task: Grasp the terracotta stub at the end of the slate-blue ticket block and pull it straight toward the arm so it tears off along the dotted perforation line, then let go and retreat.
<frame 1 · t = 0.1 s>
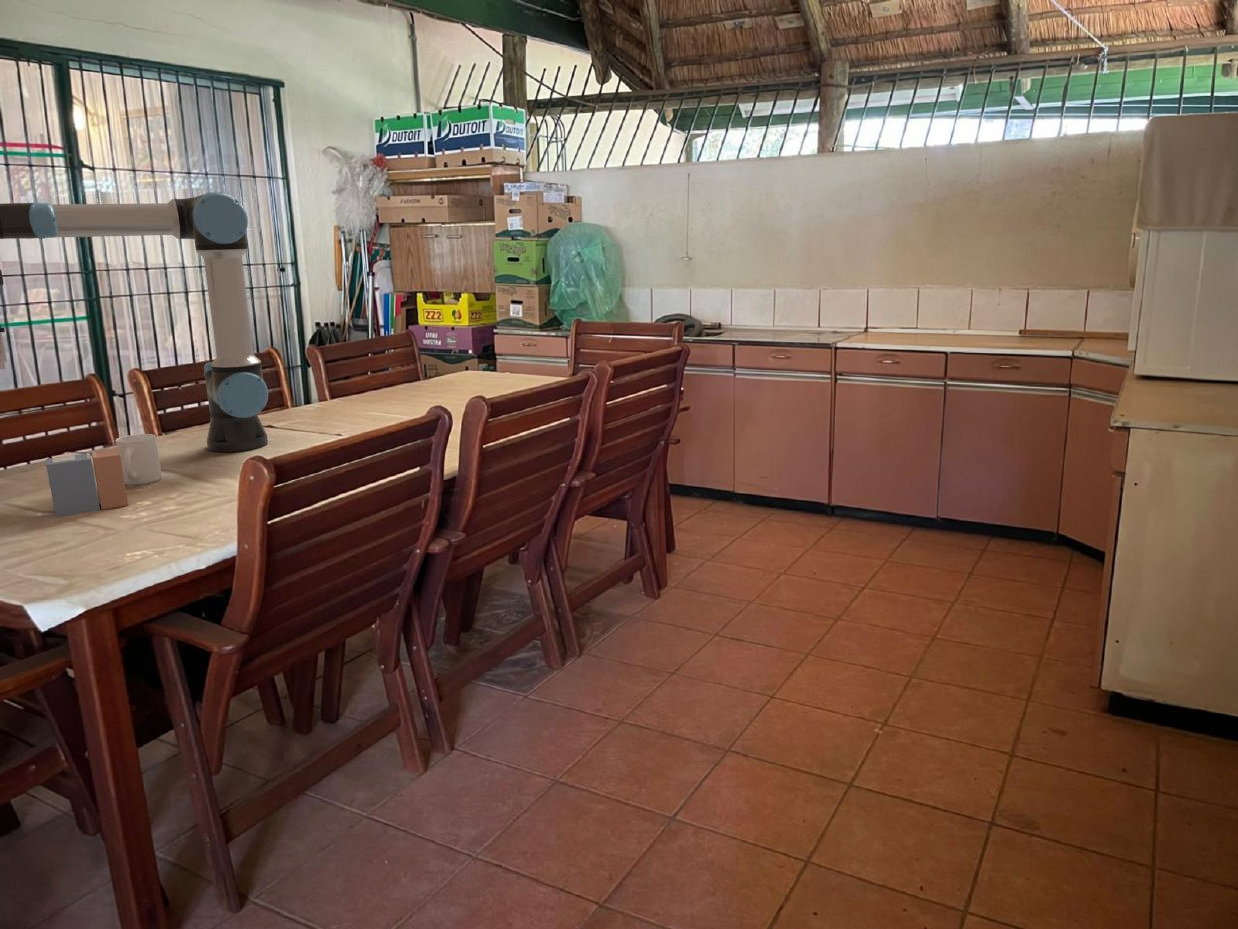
mug: (139, 483, 213), on the table
ticket block: (77, 509, 193), on the table
stub: (109, 478, 195), point 6 cm above the table, slide at 0.0 cm
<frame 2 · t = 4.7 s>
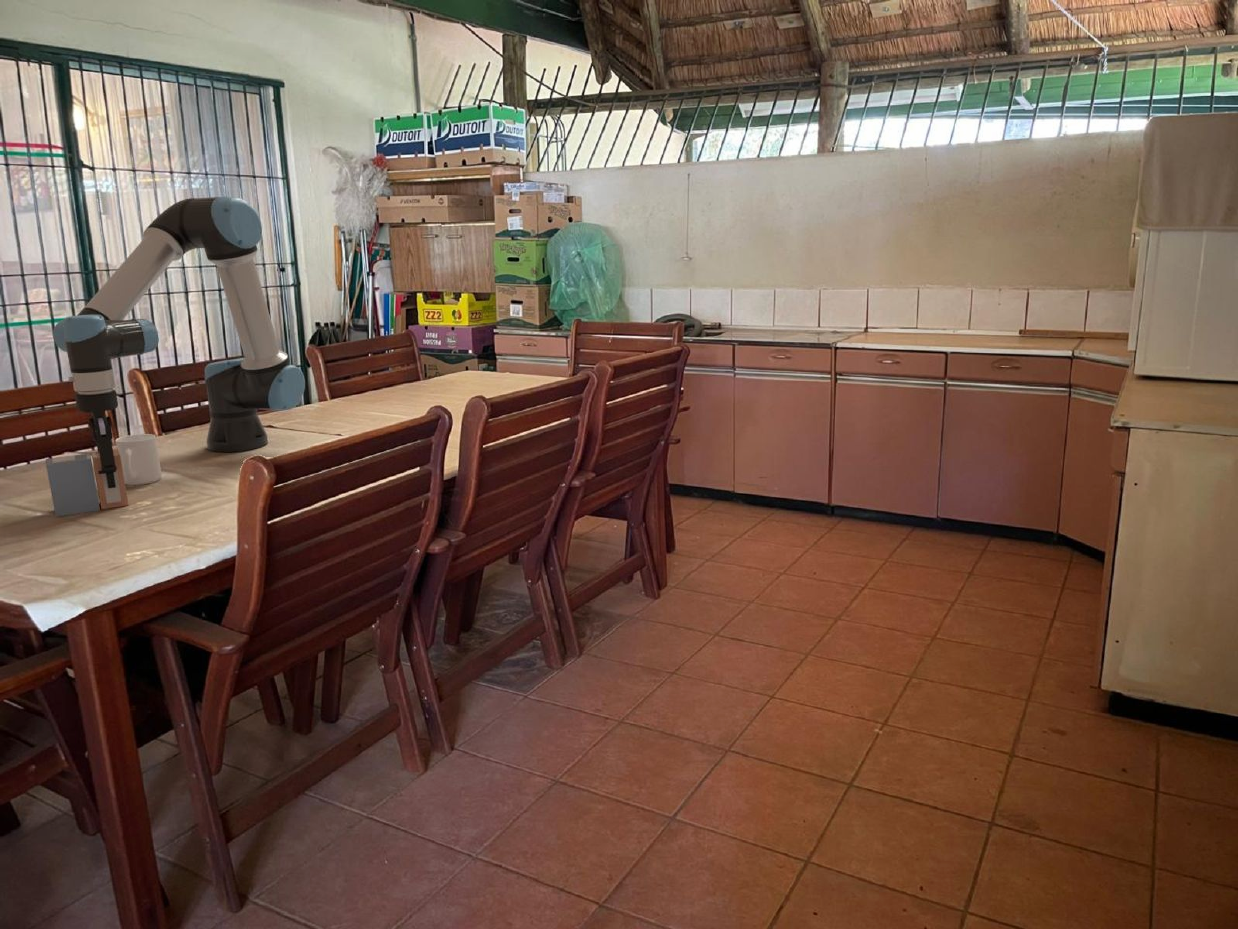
hand: (113, 498, 196), 1 cm above the table, fingers closed on stub, 6 cm apart
stub: (109, 478, 195), point 6 cm above the table, slide at 0.0 cm, touching gripper
everything else where it was.
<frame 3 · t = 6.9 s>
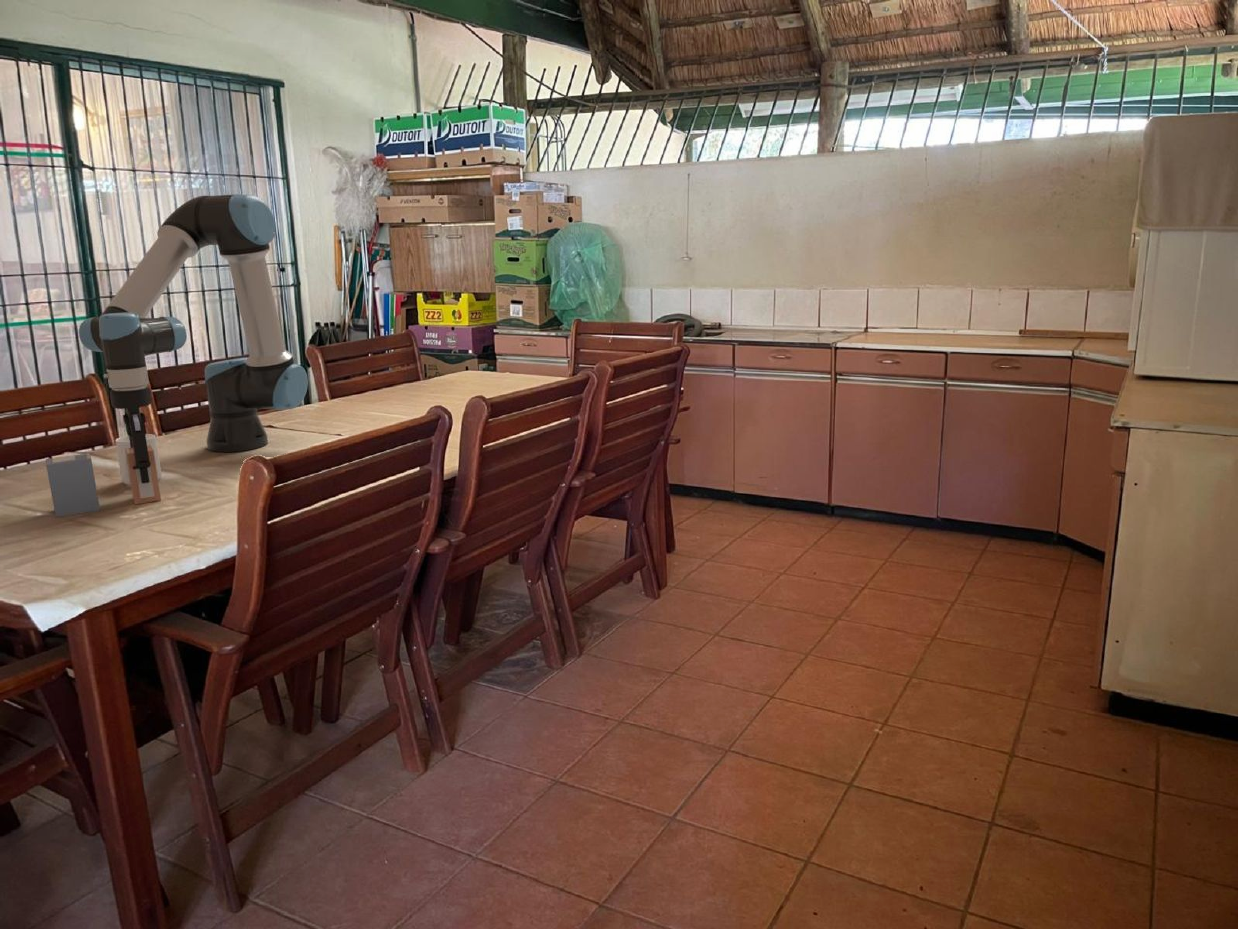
hand: (145, 493, 200), 1 cm above the table, fingers closed on stub, 6 cm apart
stub: (142, 473, 198), point 6 cm above the table, slide at 6.3 cm, touching gripper
everything else where it was.
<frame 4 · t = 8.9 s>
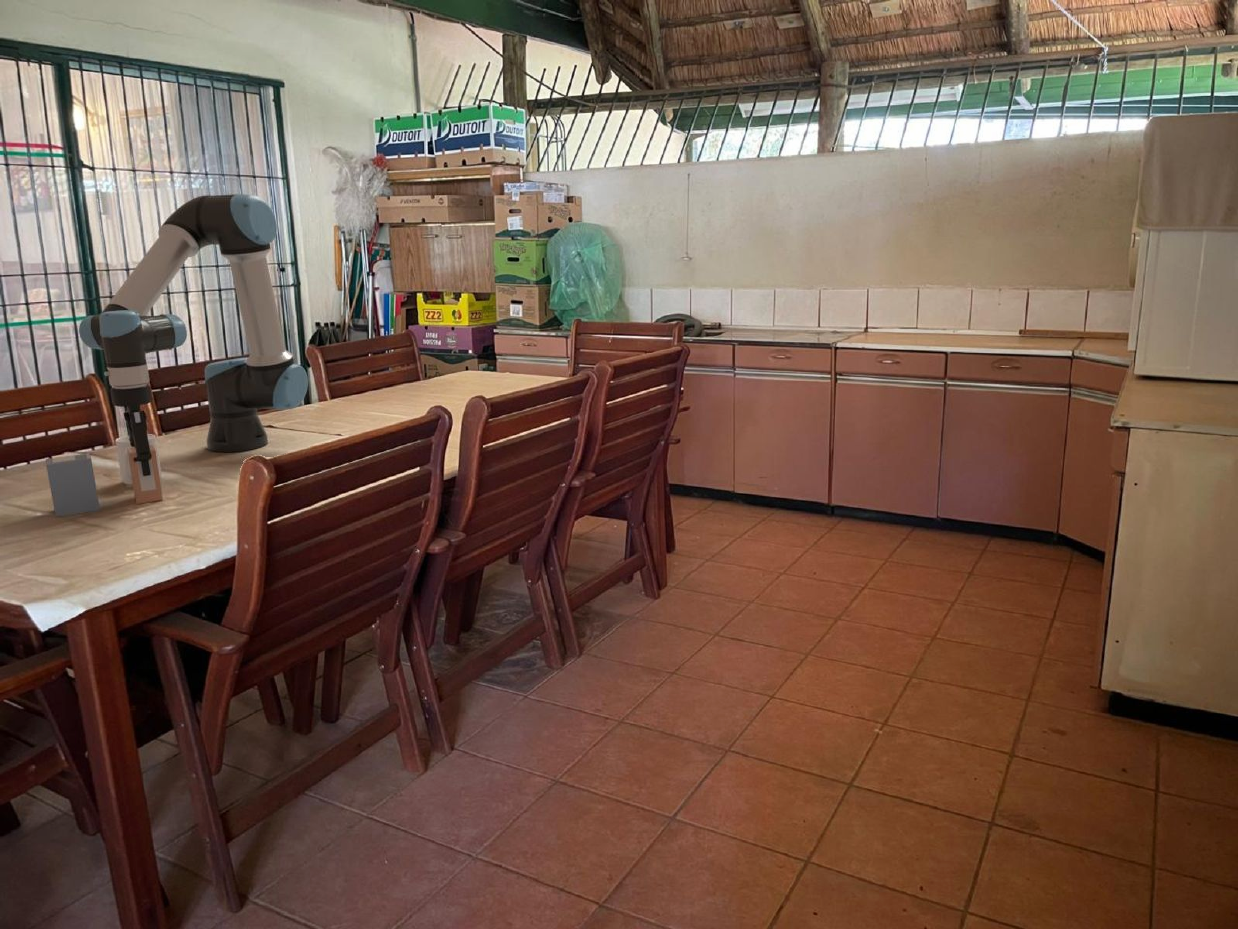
hand: (145, 482, 199), 4 cm above the table, fingers open, 13 cm apart
stub: (144, 473, 199), point 6 cm above the table, slide at 6.7 cm
everything else where it was.
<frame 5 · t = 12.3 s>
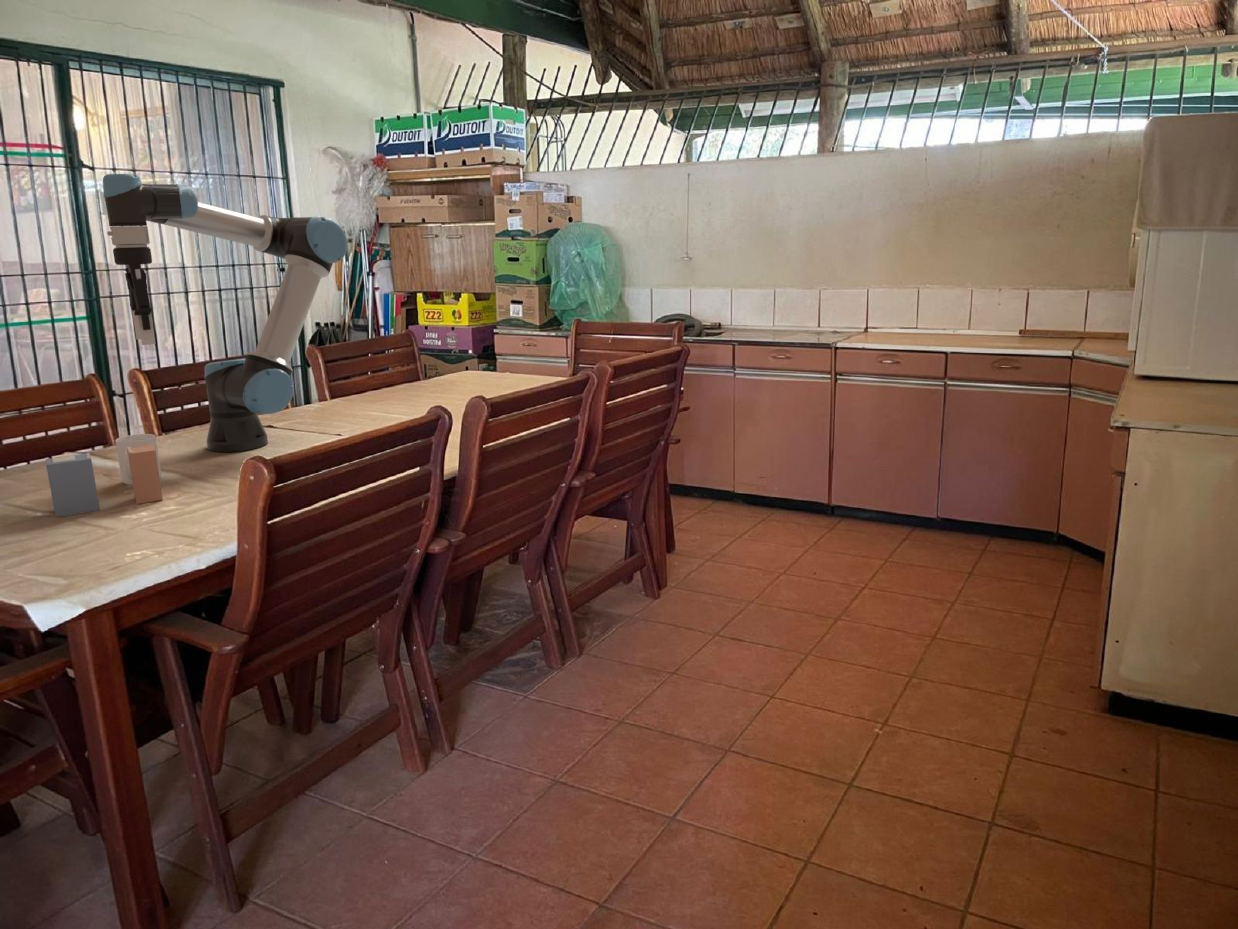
hand: (145, 341, 211), 32 cm above the table, fingers open, 13 cm apart
nothing on the table moved.
at the end: stub slide at 6.7 cm; the gripper is holding nothing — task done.
